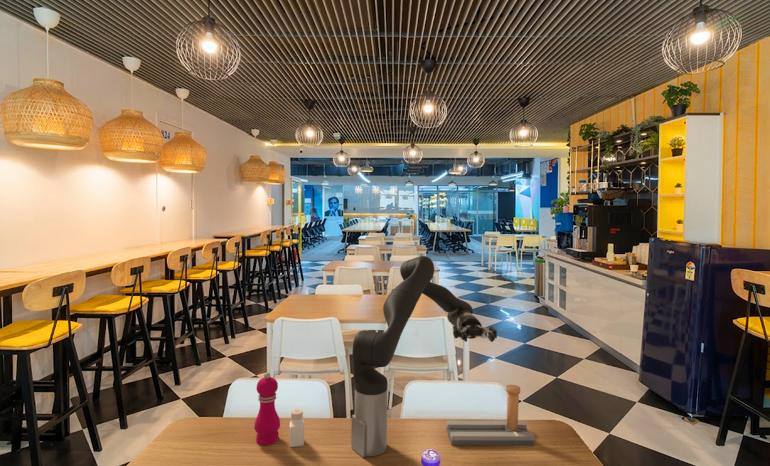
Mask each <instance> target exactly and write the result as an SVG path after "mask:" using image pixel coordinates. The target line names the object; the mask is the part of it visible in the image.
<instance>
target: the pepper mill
mask: <svg viewBox="0 0 770 466" xmlns="http://www.w3.org/2000/svg"><path fill="white" fill-rule="evenodd" d="M255 388H256V392H257V393H258V395H257V397H258V399H257V400H258V402H259V410H258V413H257V416H256V418H255V421H254V431H255V432H256V436H255V438H256V439H255V440H256V443H257V444H258V445H261V446H270V445H273V444H275V443H276V442H278V441H279V431H278V430H279V429H280V427H281V420H280V416H279V414H278V412H277V410H276V406H275V405H276V404H275V402H276V399H277V393H276V392H277V391H278V389H279V383H278V381H277V379H275V377H272V376H271V373H270V372H265V373H264V375H263V377H262V378H260V379H259V380H258V381H257V384H256V387H255Z"/></svg>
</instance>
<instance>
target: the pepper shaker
mask: <svg viewBox="0 0 770 466" xmlns="http://www.w3.org/2000/svg"><path fill="white" fill-rule="evenodd" d="M303 418H304V415H303V410H302V409H299V408H297V409H293V410H291V411H290V419H291V420H289V447H291V448H295V447H296V448H298V447H304V446H305V445H304V444H305V420H303Z"/></svg>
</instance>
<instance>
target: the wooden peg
mask: <svg viewBox="0 0 770 466" xmlns="http://www.w3.org/2000/svg"><path fill="white" fill-rule="evenodd" d="M505 387H506V389H505V390H506V391H505V392H506V393H507V396H506V397H507V400H506V401H507V403H506V405H507V407H506V421H507V425H504V429H505V431H506V432H520V430H519V429H518V421H519V403H520V402H519V400H520V395H519V394H520V393H521V387H520V386H519V385H516V384H507V385H506V386H505Z"/></svg>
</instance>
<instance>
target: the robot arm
mask: <svg viewBox="0 0 770 466" xmlns="http://www.w3.org/2000/svg"><path fill="white" fill-rule="evenodd" d="M399 267H400V268H399V271H400V272H399V273H400V276H401V278H402V279H403V280H402V281H401V282H400V283H399V284H397V285H396V286H395V287H394V288H393V289H392V290H391V292H390V293H389V294H388V296H387V297H386V299H385V301H384V303H383V306H382V307H383V308H382V312H383V316H384V319H385V321H386V324H387V328H386V330H385V331H383V332H379V331H372V330H371V331H370V330H359V331H358V332H356V334H355V336H354V339H353V343H352V353H351V355H352V369H353V370H352V374H353V375H352V377H353V378H352V379H353V383H354V414H352V415H351V427H350V428H351V432H350V433H351V434H350V435H351V437H350V438H351V439H350V440H351V443H350V444H351V445H350V446H351V449H352V450H353V451H354V452H356V453H357V454H358V455H360V457H362V458H365V457H377V456H380V455H382V454H384V453H385V452H386V450H387V447H388V446H387V445H388V440H387V439H388V383H389V382H388V379H387V377H386V376H385V375H384V374H382V373H381V372H380V371H378V370H377V369H375V368H374V367H376V368H386V367H387V366H388V365H389V364H390V363H391V362H392V359H393V358H394V355H395V353H396V351H397V350H396V349H397V346H398V344H399V342H400V340H401V336H402V334H403V331H404V330H405V327H406V325H407V323H408V321H409V319H410V317H411V316H412V314H413V312H414V310H415V308H416V306H417V304H418V302H419V300H420V298H421V297H422V295H424V296H426V297H428V298H429V299H430V300H432V301H433V302H435V303H436V305H438V306H439V307H440V309H442V310H443V311H444V312H445V313H447V316H446V317H447V320H448V322H449V323H450V324H451V325H452V334H453V337H454V338H455V339H458V338H460V339H461V340H462V341H464V342H468V339H470V340H473V339H476V338H481V339H488V341H489V342H492V343H493V342H494V341H495V340H496V339H497V338H498V335H497V334H498V330H497V329H496V328H494V327H493V326H492V325H490V326H488V328H487V327H485V326H483V325H482V323H481V321H480V320H479V319H478V318H477V316H475V315H473V313H474V309H473V307H472V305H471V304H470V303H469V302H467V301H465V300H462V299H460V298H458V297H457V296H455V294H453V292H452V291H450V290H449V289H448V288H446V287H444V286H443V285H440V284H437V283H434V282H431V281H432V280H433V278H434V274H435V266H434V262H433V260H432V258H430V257H429V256H425V255H422V256H421V255H420V256H417V257H414V258H411V259H408V260H406V261H404V262H402V263H401V265H400V266H399Z"/></svg>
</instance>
